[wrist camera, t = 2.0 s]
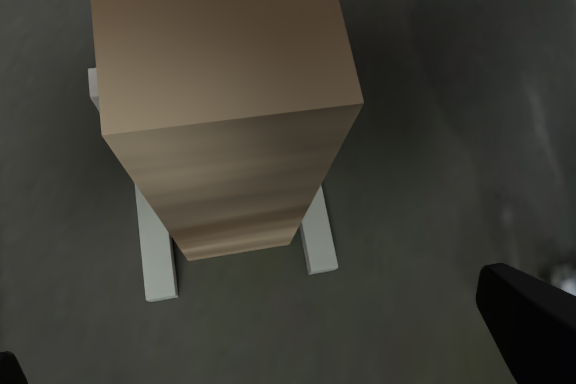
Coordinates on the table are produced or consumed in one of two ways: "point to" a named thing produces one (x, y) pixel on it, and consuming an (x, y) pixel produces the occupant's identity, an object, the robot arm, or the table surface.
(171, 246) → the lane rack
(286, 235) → the maple block
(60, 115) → the table surface
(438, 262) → the table surface
